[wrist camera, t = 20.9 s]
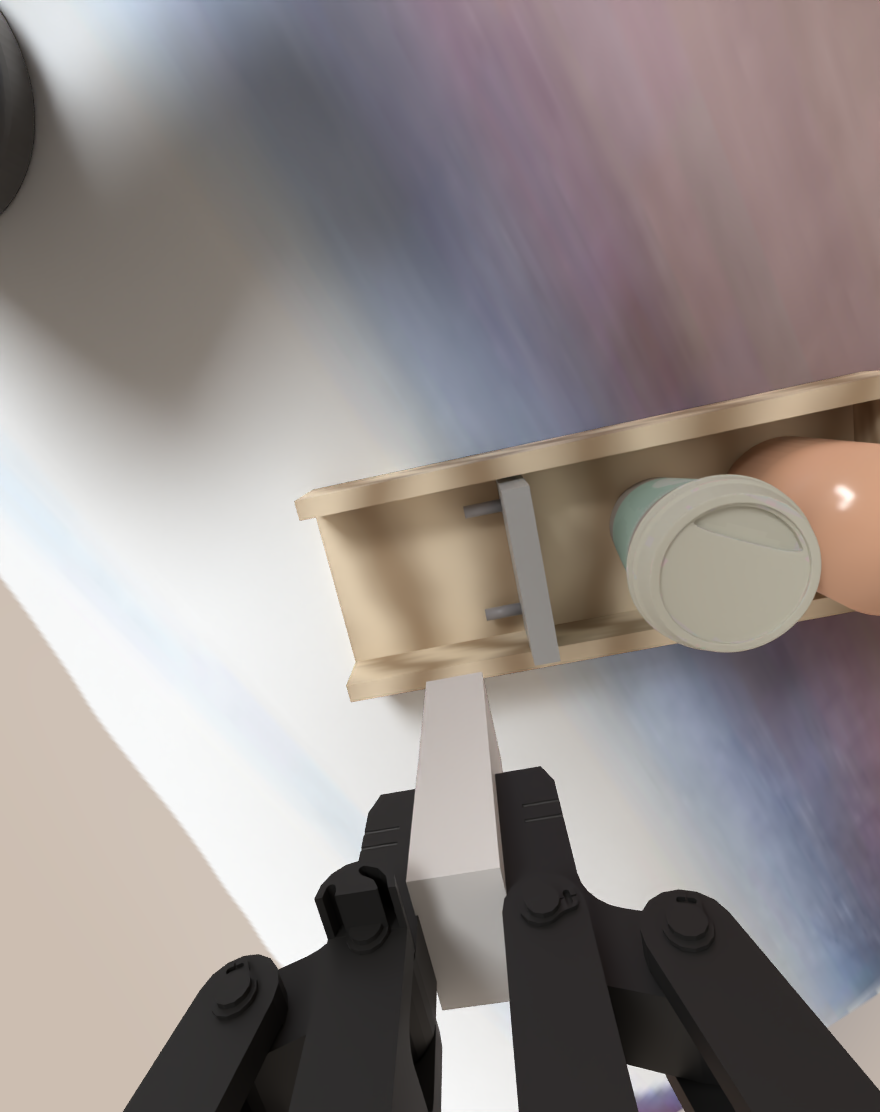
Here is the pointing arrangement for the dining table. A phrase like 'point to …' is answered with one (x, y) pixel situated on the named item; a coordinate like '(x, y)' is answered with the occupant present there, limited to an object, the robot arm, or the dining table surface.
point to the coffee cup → (716, 559)
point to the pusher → (523, 567)
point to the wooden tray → (563, 529)
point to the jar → (830, 507)
